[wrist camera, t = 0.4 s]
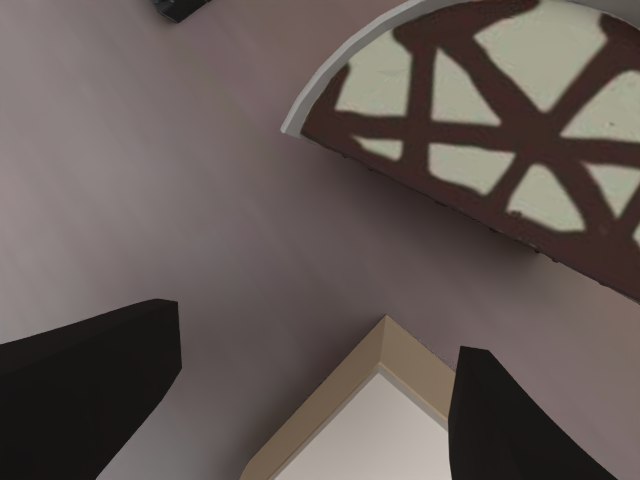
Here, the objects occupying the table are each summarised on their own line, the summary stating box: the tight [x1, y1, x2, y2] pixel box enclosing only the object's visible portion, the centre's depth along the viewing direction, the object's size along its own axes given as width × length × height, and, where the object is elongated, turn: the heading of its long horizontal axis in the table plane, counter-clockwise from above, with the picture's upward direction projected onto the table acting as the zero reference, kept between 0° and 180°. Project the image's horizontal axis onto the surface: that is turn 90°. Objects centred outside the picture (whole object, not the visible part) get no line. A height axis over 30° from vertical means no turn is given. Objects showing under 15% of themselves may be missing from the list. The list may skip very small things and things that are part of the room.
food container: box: [280, 0, 640, 305], centre depth 14 cm, size 12×6×10 cm, turn 64°
